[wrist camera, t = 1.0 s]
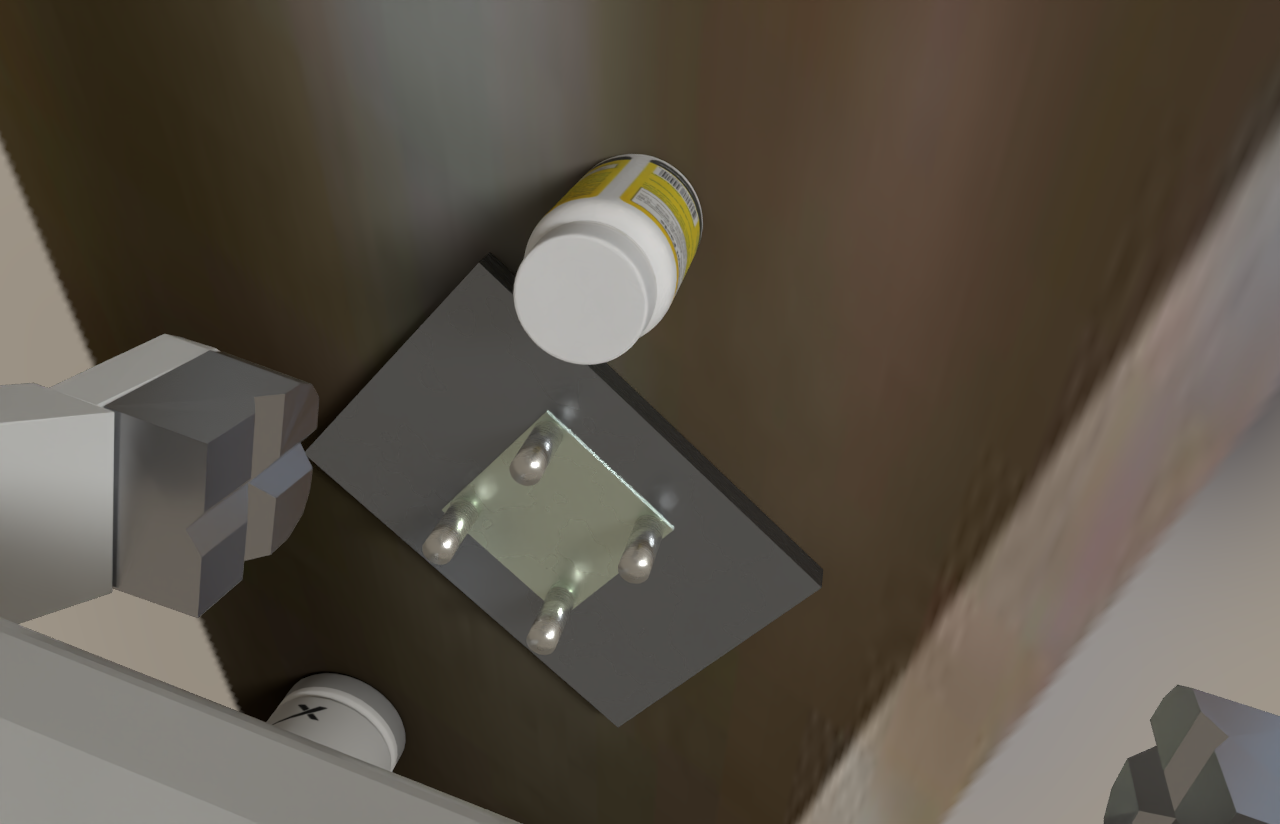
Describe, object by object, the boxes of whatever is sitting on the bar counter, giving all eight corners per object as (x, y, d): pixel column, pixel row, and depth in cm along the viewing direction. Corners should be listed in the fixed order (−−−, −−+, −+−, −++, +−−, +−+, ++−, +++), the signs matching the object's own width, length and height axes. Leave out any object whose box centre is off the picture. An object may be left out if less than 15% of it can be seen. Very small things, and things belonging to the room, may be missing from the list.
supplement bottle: (565, 266, 39) (489, 357, 31) (581, 138, 36) (504, 203, 29) (692, 294, 38) (646, 393, 31) (717, 167, 36) (673, 241, 29)
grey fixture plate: (317, 439, 44) (265, 489, 41) (490, 252, 39) (448, 290, 35) (624, 708, 48) (601, 778, 44) (823, 570, 42) (817, 635, 38)
